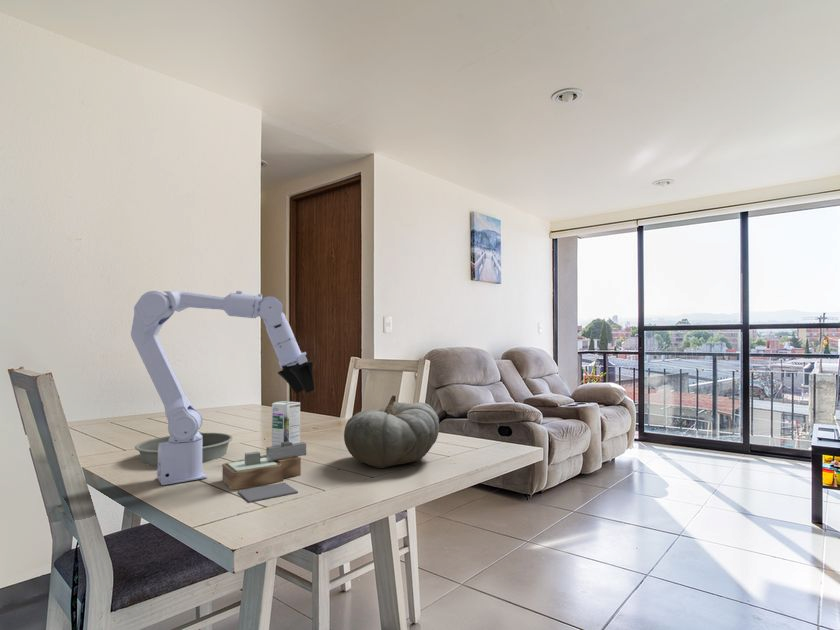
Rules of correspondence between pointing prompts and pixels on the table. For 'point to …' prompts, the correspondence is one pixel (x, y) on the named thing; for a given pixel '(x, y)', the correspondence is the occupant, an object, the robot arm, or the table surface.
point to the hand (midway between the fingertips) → (304, 391)
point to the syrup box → (285, 422)
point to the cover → (251, 463)
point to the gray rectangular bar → (285, 451)
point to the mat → (267, 492)
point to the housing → (262, 473)
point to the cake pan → (211, 447)
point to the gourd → (392, 434)
